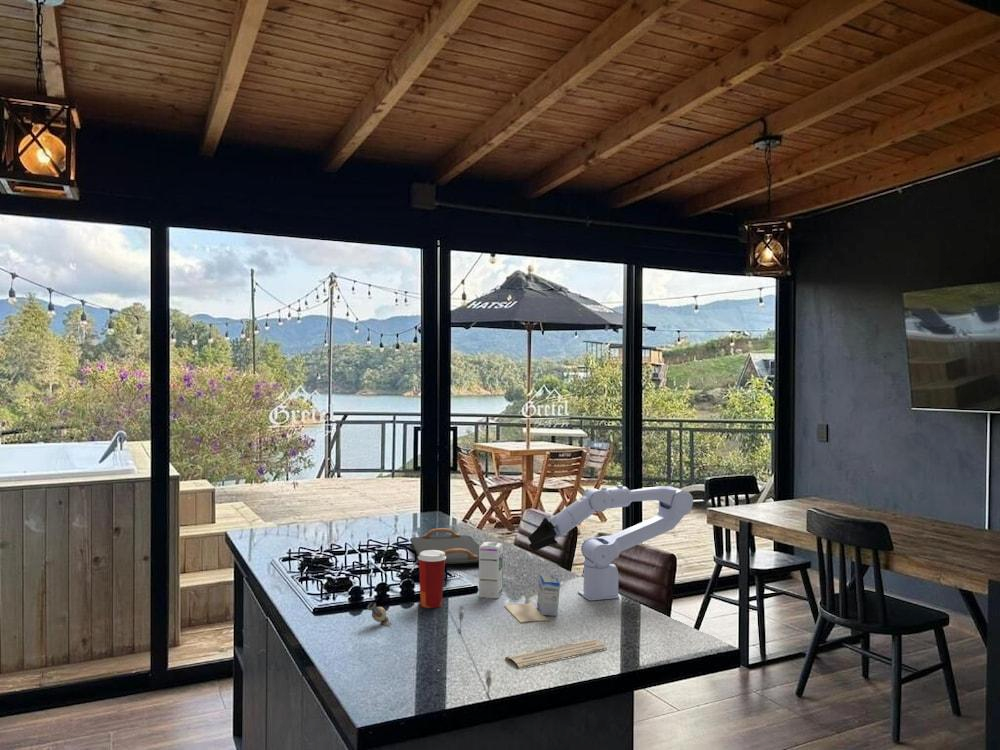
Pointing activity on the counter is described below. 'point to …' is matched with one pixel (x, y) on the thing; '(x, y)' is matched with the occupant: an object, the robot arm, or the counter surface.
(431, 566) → the paper cup
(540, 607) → the medicine box
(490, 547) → the syrup box
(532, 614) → the cork mat
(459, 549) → the serving board
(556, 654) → the tan ridged strip
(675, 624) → the counter surface
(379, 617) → the vase
